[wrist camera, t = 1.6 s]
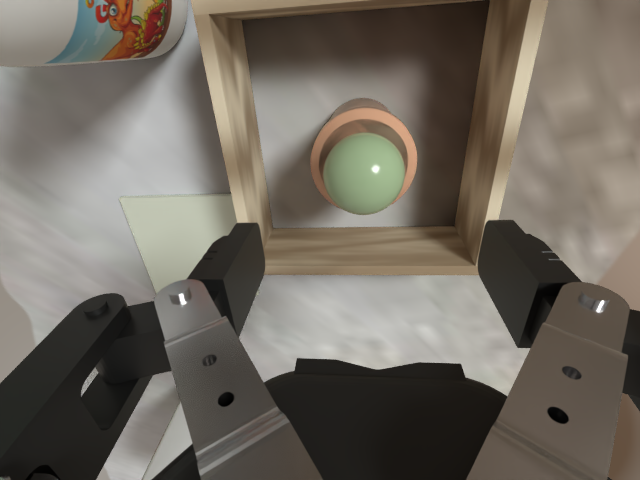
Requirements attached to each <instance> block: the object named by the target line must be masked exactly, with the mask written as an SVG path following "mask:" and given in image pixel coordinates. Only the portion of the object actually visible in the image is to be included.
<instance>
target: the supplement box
mask: <svg viewBox="0 0 640 480" xmlns="http://www.w3.org/2000/svg"><path fill="white" fill-rule="evenodd" d="M191 444H192V440H191V436H190V433H189V429H188V426H187V422H186V419H185V415H184V412H183V408H182V405H181V401H180V402H179V404H178V406H177V408H176V410H175V412H174V414H173V416H172V418H171V420H170V422H169V424H168V426H167V428H166V431H165V433H164V435H163V437H162V439H161V441H160V443H159V445H158V447H157V449H156V451H155V453H154V455H153V457H152V459H151V461H150V463H149V465H148V467H147V469H146V472H145V474H144V476H143V478H142V480H151V479H153V478H154V477H155V476H156V475H157V474H158V473H159V472H161V471H162V470H163V469H164V468H165V467H166V466H167V465H168V464H170V463H171V462H172V461H173V460H174V459H175V458H176V457H178V456H179V455H180V454H181V453H182V452H183V451H184V450H185V449H187V448H188V447H189V446H190V445H191Z"/></svg>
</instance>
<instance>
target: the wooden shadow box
mask: <svg viewBox="0 0 640 480" xmlns="http://www.w3.org/2000/svg"><path fill="white" fill-rule="evenodd" d="M471 1H483V0H191V4H192V9H193V13H194V18H195V23H196V28H197V33H198V37H199V42H200V47H201V52H202V56H203V61H204V66H205V71H206V75H207V80H208V85H209V90H210V95H211V99H212V104H213V109H214V114H215V118H216V123H217V128H218V133H219V138H220V142H221V147H222V152H223V157H224V161H225V166H226V171H227V176H228V181H229V185H230V190H231V195H232V200H233V204H234V209H235V214H236V219H237V223H258V224H259V227H260V232H261V238H262V244H263V250H264V256H265V272H264V275H479V273H478V265H477V264H478V256H479V251H480V246H481V241H482V237H483V232H484V227H485V224H486V222H487V221H488V220H498V218H499V214H500V210H501V205H502V201H503V197H504V192H505V188H506V184H507V179H508V175H509V171H510V166H511V162H512V158H513V153H514V149H515V144H516V140H517V136H518V131H519V127H520V123H521V118H522V114H523V110H524V105H525V101H526V97H527V92H528V88H529V84H530V79H531V75H532V70H533V66H534V62H535V57H536V53H537V49H538V44H539V40H540V36H541V31H542V27H543V23H544V18H545V14H546V10H547V5H548V1H549V0H490V4H489V10H488V16H487V23H486V29H485V35H484V42H483V48H482V54H481V61H480V67H479V73H478V80H477V86H476V92H475V99H474V105H473V111H472V118H471V124H470V130H469V137H468V143H467V149H466V156H465V162H464V168H463V175H462V181H461V187H460V194H459V200H458V206H457V213H456V219H455V225H454V226H431V227H349V228H273V225H272V218H271V212H270V205H269V198H268V192H267V185H266V178H265V172H264V165H263V158H262V152H261V145H260V138H259V132H258V125H257V119H256V112H255V105H254V99H253V92H252V85H251V79H250V72H249V65H248V59H247V52H246V45H245V39H244V32H243V25H242V20H251V19H263V18H275V17H287V16H299V15H312V14H324V13H336V12H348V11H361V10H373V9H385V8H397V7H410V6H422V5H434V4H446V3H459V2H471Z"/></svg>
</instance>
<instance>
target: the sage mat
mask: <svg viewBox="0 0 640 480" xmlns="http://www.w3.org/2000/svg"><path fill="white" fill-rule="evenodd" d="M119 200H120V203H121V205H122V208H123V210H124V213H125V215H126V218H127V220H128V223H129V226H130V228H131V231H132V233H133V236H134V238H135V241H136V243H137V246H138V248H139V251H140V253H141V256H142V259H143V261H144V264H145V266H146V269H147V271H148V274H149V276H150V279H151V281H152V284H153V287H154V289H155V292H156V294H157V293H158V292H159V291H160V290H161V289H163V288H164V287H166V286H167V285H169V284H171V283H174V282H176V281H180V280H186V279H187V278H188V276H189V275H190V273H191V272H192V271H193V269H194V268H195V267H196V265H197V264H198V262H199V261H200V260H202V257H203V255H204V254H205V253H207V250H208V249H209V247H210V246H211V244H212V243H213V242H215V241H216V240H218V239H219V238H221V237H222V236H228V235H229V233H230V232H231V230H232V229H233V227H234V226H235V224H236V223H237V219H236V214H235V209H234V204H233V200H232V195H231V194H195V195H153V196H122V197H120V198H119ZM258 294H259V290H258V291H257V293H256V295H258Z"/></svg>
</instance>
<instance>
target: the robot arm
mask: <svg viewBox="0 0 640 480" xmlns="http://www.w3.org/2000/svg"><path fill="white" fill-rule="evenodd" d="M477 265H478V273H479V276H480V278H481V280H482V282H483V284H484V286H485V288H486V289H487V291H488V293H489V295H490V297H491V299H492V301H493V303H494V304H495V306H496V308H497V310H498V312H499V314H500V316H501V318H502V319H503V321H504V323H505V325H506V327H507V329H508V331H509V332H510V334H511V336H512V338H513V340H514V342H515V344H516V346H517V347H518V348H531V349H530V351H529V353H528V355H527V357H526V359H525V361H524V363H523V366H522V368H521V370H520V372H519V374H518V376H517V378H516V380H515V382H514V384H513V387H512V389H511V391H510V393H509V395H508V397H507V396H506V395H504V394H503V393H501V392H499V391H497V390H496V389H494V388H492V387H490V386H488V385H485V384H483V383H481V382H478V381H475V380H472V379H469V378H465V375H464V372H463V369H462V366H461V364H451V363H421V362H419V363H413V364H408V365H403V366H397V367H392V368H387V369H381V370H375V369H371V368H367V367H363V366H359V365H355V364H351V363H347V362H343V361H339V360H331V359H301V358H297V361H296V367H295V371H292V372H288V373H285V374H281V375H279V376H276V377H274V378H272V379H270V380H268V381H266V382H263V381H262V379H261V377H260V375H259V374H258V372H257V370H256V368H255V366H254V365H253V363H252V361H251V359H250V358H249V356H248V354H247V352H246V350H245V349H244V347H243V345H242V343H241V342H240V340H239V336H240V333H241V331H242V328H243V326H244V323H245V321H246V318H247V316H248V313H249V311H250V308H251V306H252V303H253V301H254V298H255V296H256V293H257V291H258V288H259V286H260V283H261V281H262V278H263V276H264V272H265V256H264V250H263V244H262V238H261V232H260V227H259V224H258V223H236V224H235V226H234V227H233V229H232V230H231V232H230V233H229V235H228V236H222V237H221V238H219V239H218V240H216V241H215V242H213V243H212V244H211V246H210V247H209V249H208V250H207V253H205V254H204V255H203V257H202V260H200V261H199V262H198V264H197V265H196V267H195V268H194V269H193V271H192V272H191V273H190V275H189V276H188V278H187V279H186V280H180V281H176V282H174V283H171V284H169V285H167V286H166V287H164V288H163V289H161V290H160V291H159V292H158V293H157V295H156V296H155V298H154V301H152V302H147V303H142V304H137V305H132V306H127V304H126V301H125V299H124V297H123V296H121V295H119V294H115V293H110V294H103V295H99V296H96V297H93V298H91V299H88V300H86V301H84V302H83V303H81V304H79V305H78V306H77V307H76V308H74V309H73V310H72V311H71V312H70V313H69V314H68V315H67V316H66V317H65V318H64V319H63V320H62V321H61V322H60V323H59V324H58V325H57V326H56V327H55V329H54V330H53V331H52V332H51V333H50V334H49V335H48V336H47V337H46V338H45V339H44V340H43V341H42V342H41V343H40V344H39V345H38V346H37V347H36V348H35V349H34V350H33V351H32V352H31V353H30V354H29V355H28V356H27V357H26V358H25V359H24V360H23V361H22V362H21V363H20V364H19V365H18V366H17V367H16V368H15V369H14V370H13V371H12V372H11V373H10V374H9V375H8V376H7V377H6V378H5V379H4V380H3V381H2V382H1V383H0V480H96V479H97V476H98V475H99V473H100V471H101V469H102V468H103V466H104V464H105V462H106V460H107V458H108V457H109V455H110V453H111V451H112V449H113V447H114V446H115V444H116V442H117V440H118V438H119V436H120V435H121V433H122V431H123V429H124V427H125V425H126V424H127V422H128V420H129V418H130V416H131V414H132V413H133V411H134V409H135V407H136V405H137V403H138V402H139V400H140V398H141V396H142V394H143V392H144V391H145V389H146V387H147V385H148V383H149V381H150V380H151V378H152V376H153V375H155V374H159V373H164V372H168V371H172V373H173V377H174V380H175V384H176V387H177V391H178V394H179V398H180V401H181V405H182V408H183V412H184V415H185V419H186V422H187V426H188V429H189V433H190V436H191V440H192V444H191V445H190V446H189V447H188V448H187V449H185V450H184V451H183V452H182V453H181V454H180V455H179V456H178V457H176V458H175V459H174V460H173V461H172V462H171V463H170V464H168V465H167V466H166V467H165V468H164V469H163V470H162V471H161V472H159V473H158V474H157V475H156V476H155V477H154V478H153V479H151V480H611V479H610V478H609V477H608V472H609V466H610V460H611V454H612V449H613V443H614V437H615V431H616V425H617V420H618V414H619V408H620V402H621V396H622V393H625V394H628V395H629V397H630V398H631V399H632V401H633V402H634V404H635V405H636V407H637V408H638V409H639V411H640V311H636V310H631V309H630V308H629V305H628V303H627V302H626V301H625V300H624V299H623V298H622V297H621V296H619V295H618V294H616V293H615V292H613V291H611V290H609V289H607V288H604V287H602V286H599V285H595V284H591V283H585V282H582V281H581V280H580V279H579V278H578V277H577V276H576V275H575V274H574V273H573V272H572V271H571V270H570V269H569V268H568V267H567V266H566V265H565V264H564V262H563V261H562V260H560V258H559V257H558V256H557V255H556V254H555V253H552V250H551V249H550V248H549V247H548V246H547V245H546V244H545V243H544V242H543V241H541V240H540V239H538V238H536V237H534V236H532V235H531V234H525V233H524V231H523V230H522V229H521V228H520V227H519V226H518V225H517V224H516V223H515V221H513V220H488V221H487V222H486V224H485V227H484V232H483V237H482V241H481V246H480V251H479V256H478V264H477ZM95 367H96V369H97V371H98V374H97V376H96V377H95V378H94V380H93V381H92V383H91V384H90V385H89V387H88V388H87V390H86V391H85V392H84V394H83V395H82V397H81V390H82V386H83V384H84V382H85V380H86V379H87V377H88V376H89V374H90V373H91V372H92V370H93V369H94V368H95Z"/></svg>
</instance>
